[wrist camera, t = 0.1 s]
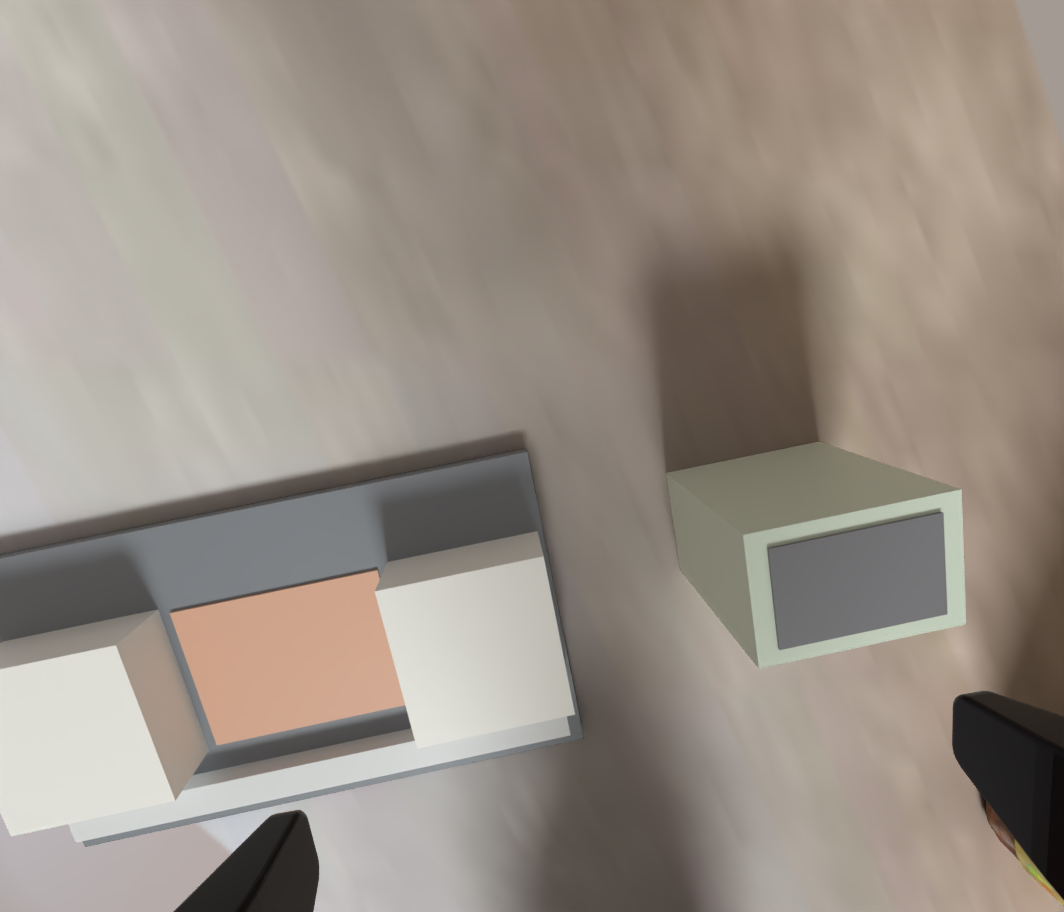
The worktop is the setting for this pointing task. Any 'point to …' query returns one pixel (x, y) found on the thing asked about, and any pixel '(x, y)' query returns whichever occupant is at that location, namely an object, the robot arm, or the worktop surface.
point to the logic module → (819, 550)
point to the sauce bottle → (1018, 851)
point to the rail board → (279, 652)
